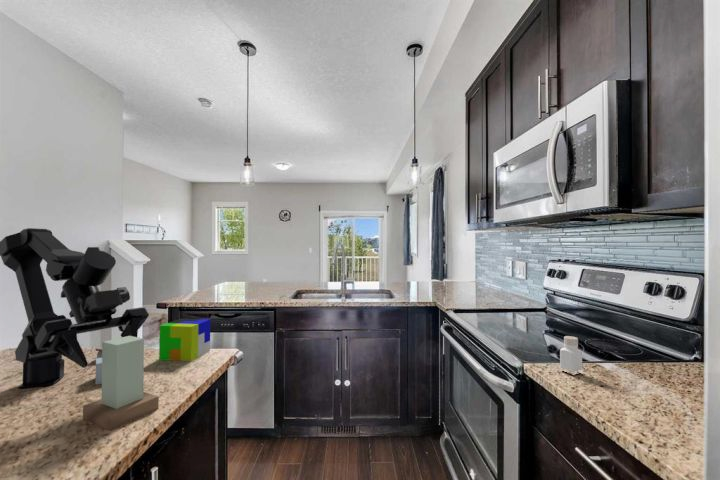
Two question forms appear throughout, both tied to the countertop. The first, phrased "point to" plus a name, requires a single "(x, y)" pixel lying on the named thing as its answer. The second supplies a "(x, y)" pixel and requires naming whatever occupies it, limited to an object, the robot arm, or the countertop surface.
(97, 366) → the slate painted cube
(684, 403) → the countertop surface
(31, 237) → the robot arm
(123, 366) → the sage pillar block
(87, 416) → the walnut base block
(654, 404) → the countertop surface
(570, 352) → the salt shaker
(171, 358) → the puzzle toy
